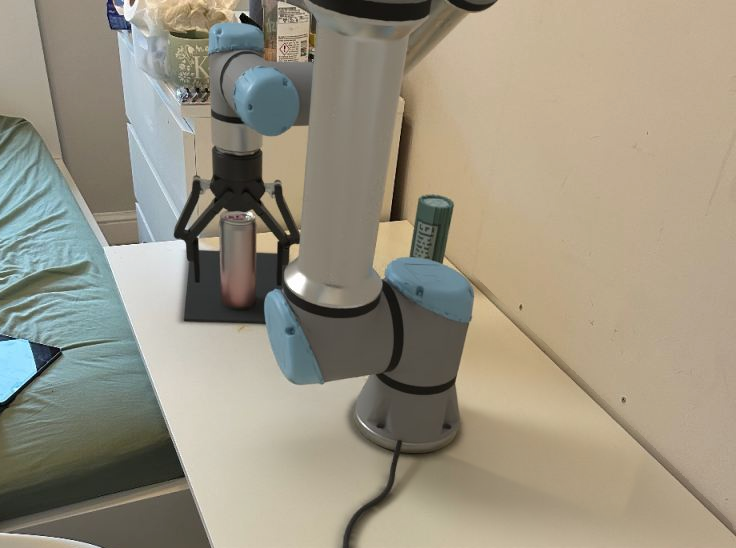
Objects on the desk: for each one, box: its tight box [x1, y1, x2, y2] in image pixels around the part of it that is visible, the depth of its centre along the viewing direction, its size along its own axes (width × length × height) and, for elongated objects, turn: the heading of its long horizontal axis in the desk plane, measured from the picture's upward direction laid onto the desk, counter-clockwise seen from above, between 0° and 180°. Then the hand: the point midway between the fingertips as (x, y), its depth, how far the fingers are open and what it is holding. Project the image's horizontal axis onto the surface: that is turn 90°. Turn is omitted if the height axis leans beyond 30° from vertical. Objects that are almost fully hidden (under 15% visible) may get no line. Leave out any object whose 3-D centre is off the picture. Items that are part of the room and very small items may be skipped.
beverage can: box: [218, 209, 258, 310], centre depth 122 cm, size 6×6×15 cm
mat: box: [183, 249, 287, 324], centre depth 132 cm, size 26×18×1 cm
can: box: [408, 193, 455, 264], centre depth 136 cm, size 6×6×15 cm
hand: (238, 280), depth 124 cm, fingers open, 13 cm apart
